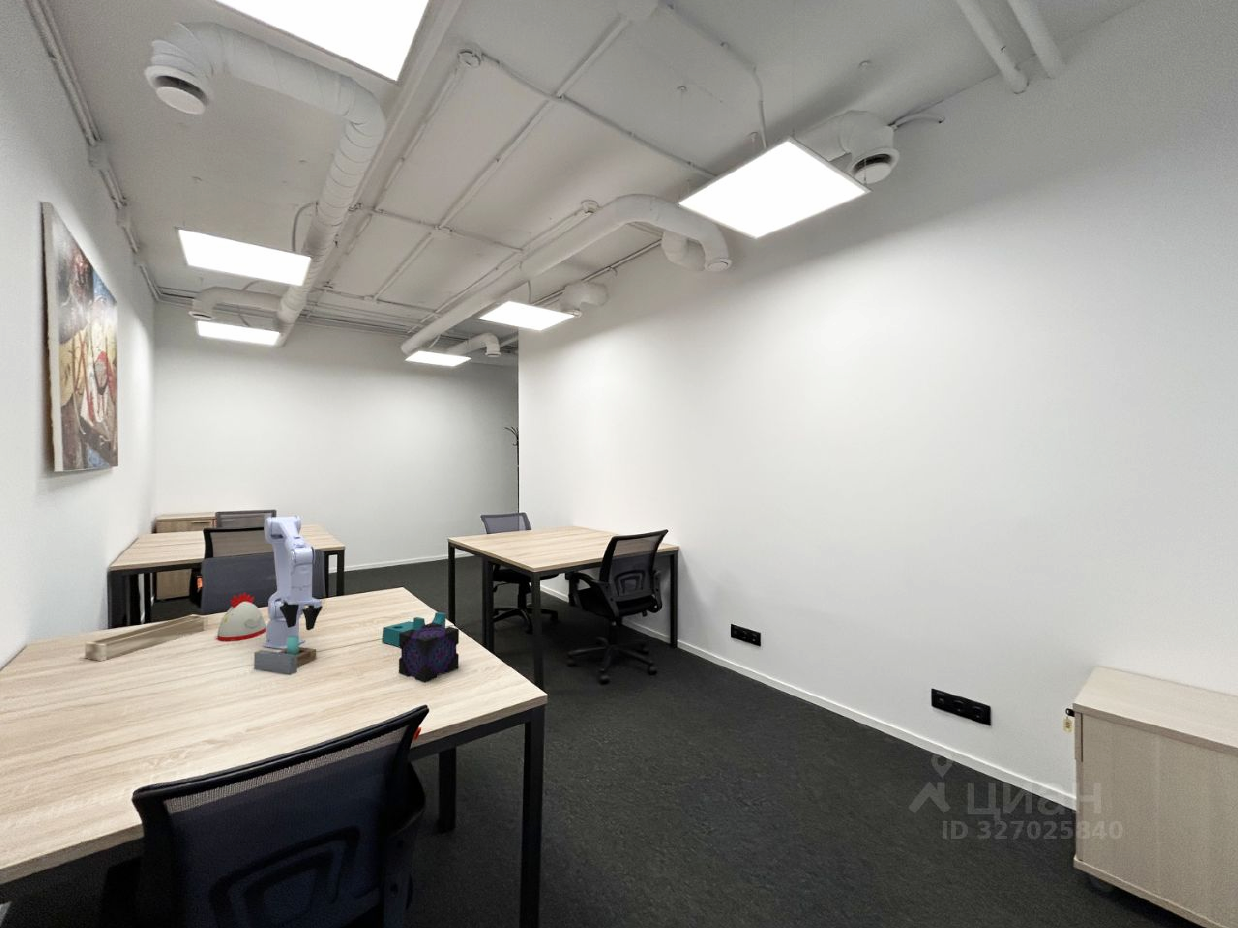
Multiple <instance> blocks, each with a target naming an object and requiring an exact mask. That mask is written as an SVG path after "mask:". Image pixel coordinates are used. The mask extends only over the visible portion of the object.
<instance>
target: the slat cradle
mask: <svg viewBox="0 0 1238 928" xmlns="http://www.w3.org/2000/svg"><path fill="white" fill-rule="evenodd" d="M208 616H209V615H201V614H189V615H186V616H185V615H184V616H182V617H178V618H174V619H170V620H166V621H162V622H159V623H156V624H152V625H147V626H145V627H140V628H137V629H133V630H128V631H125V632H121V633H117V634H113V635H110V636H106V637H102V638H99V639H95V640H92V641H88V642H87V641H86V642H85V644H84V645H85V648H84V649H85V655H84V656H85V658H88V659H87V660H89V659H94V660H93V661H95V660H98V661H97V662H104V661H103V660H105V661H107V659H108V660H110V658H111V659H115V658H117V656H118V657H121V656H125V655H129V654H131V653H134V651H135V652H137V651H138V652H139V651H140V650H141V651H142V650H144V649H147V648H151V647H154V646H157V645H161V644H164V643H168V642H170V640H171V641H173V639H174V640H177V639H176V638H178V639H180V637H181V638H184V637H188V636H192V635H194V634H197V633H200V632H201V633H202V632H204V631H207V630H208ZM183 636H184V637H183ZM167 641H168V642H167ZM124 654H125V655H124ZM120 655H121V656H120ZM114 657H115V658H114Z"/></svg>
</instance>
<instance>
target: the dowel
mask: <svg viewBox="0 0 1238 928" xmlns="http://www.w3.org/2000/svg"><path fill="white" fill-rule="evenodd" d="M299 639H300V635H299V636H290V637H288V638H287V654H293V655H297V654H298V652H299V647H300V643H299Z"/></svg>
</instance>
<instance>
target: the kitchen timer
mask: <svg viewBox="0 0 1238 928" xmlns="http://www.w3.org/2000/svg"><path fill="white" fill-rule="evenodd" d="M254 600H255V596H252V597H251V594H248V595H247V592H243V594H242V593H239V594H238V597H237V595H233V600H231V599H230V600H229V603H230V605H231V607H230V608H229V609H228V610H227V611H226V612H225V614H224V615H223V616H222V618H221V620H220V623H219V626H218V630H217V632H216V633H217V636H216V637H217V640H218V641H219V642H226V643H227V642H228V643H230V642H240V641H245V640H249V639H253V638H256V637H259V636H262V635H263V634H266V626H267V623H266V621H265V618H264V615H263V614H262V612H261V610H260V609H259V607H257V606H256V604H253V602H254Z"/></svg>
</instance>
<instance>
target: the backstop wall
mask: <svg viewBox="0 0 1238 928" xmlns="http://www.w3.org/2000/svg"><path fill="white" fill-rule="evenodd" d="M279 652H280V651H271V650H263V649H260V650H257V651H254V655H253V656H254V658H253V659H254V660H253V661H254V663H253V669H254V670H259V671H266V672H271V673H277V674H285V675H293V674H295V673H297V671H298V667H297V655H293V654H286V653H279Z"/></svg>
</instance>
